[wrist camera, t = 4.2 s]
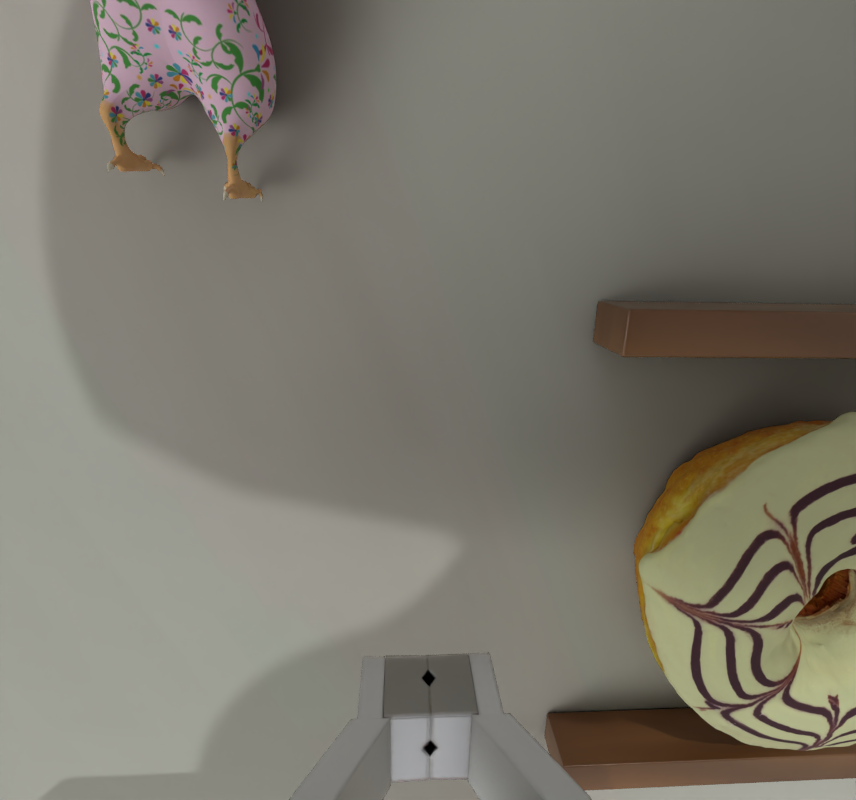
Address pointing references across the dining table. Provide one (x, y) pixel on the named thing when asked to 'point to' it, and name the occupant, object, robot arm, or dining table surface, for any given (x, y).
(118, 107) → the rabbit figure
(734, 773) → the frame
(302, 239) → the dining table surface
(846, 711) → the decorated donut
